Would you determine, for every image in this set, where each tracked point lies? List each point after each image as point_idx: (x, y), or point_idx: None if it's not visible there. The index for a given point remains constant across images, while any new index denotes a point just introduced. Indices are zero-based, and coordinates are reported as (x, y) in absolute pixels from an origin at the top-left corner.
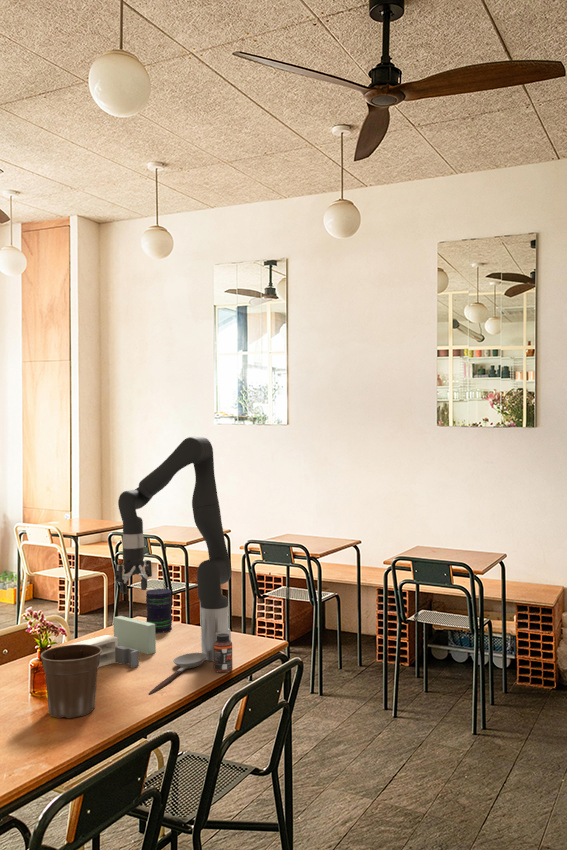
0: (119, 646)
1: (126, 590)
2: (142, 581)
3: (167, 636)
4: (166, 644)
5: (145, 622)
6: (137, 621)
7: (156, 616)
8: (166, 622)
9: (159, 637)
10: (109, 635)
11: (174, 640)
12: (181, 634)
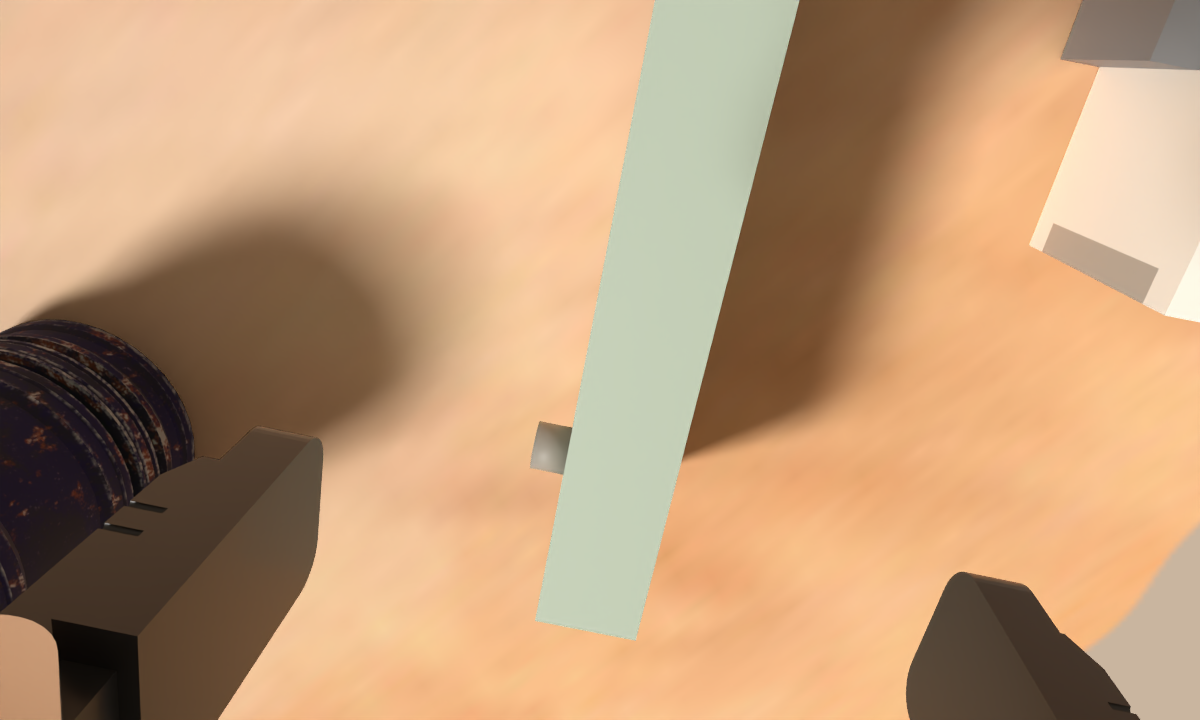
0: (1191, 48)
1: (1022, 627)
2: (186, 696)
3: (180, 213)
4: (388, 20)
5: (668, 77)
6: (672, 234)
7: (55, 456)
8: (14, 356)
9: (251, 262)
10: (1195, 256)
11: (235, 44)
12: (43, 129)
